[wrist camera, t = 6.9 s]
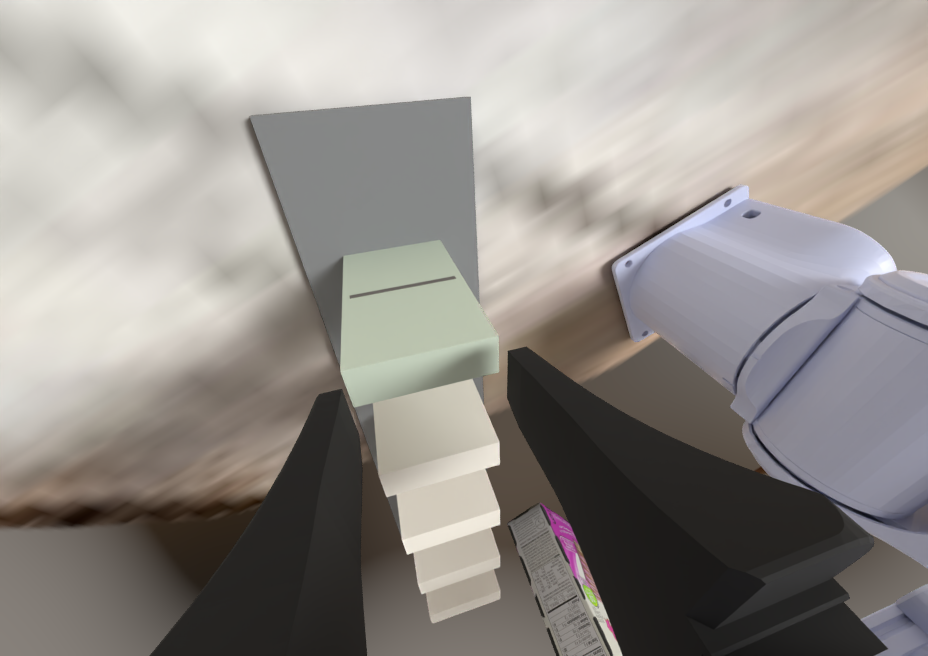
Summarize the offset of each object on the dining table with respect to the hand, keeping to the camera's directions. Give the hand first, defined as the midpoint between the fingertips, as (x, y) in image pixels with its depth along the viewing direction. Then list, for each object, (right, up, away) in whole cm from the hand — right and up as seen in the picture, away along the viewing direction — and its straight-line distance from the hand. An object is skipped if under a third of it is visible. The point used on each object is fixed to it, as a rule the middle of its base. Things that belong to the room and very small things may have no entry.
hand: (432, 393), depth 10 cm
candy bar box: (+11, -22, +32) cm, 40 cm away
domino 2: (-2, -3, +14) cm, 15 cm away
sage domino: (-3, +6, +8) cm, 10 cm away
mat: (-2, -3, +15) cm, 15 cm away
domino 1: (-2, +1, +11) cm, 11 cm away
